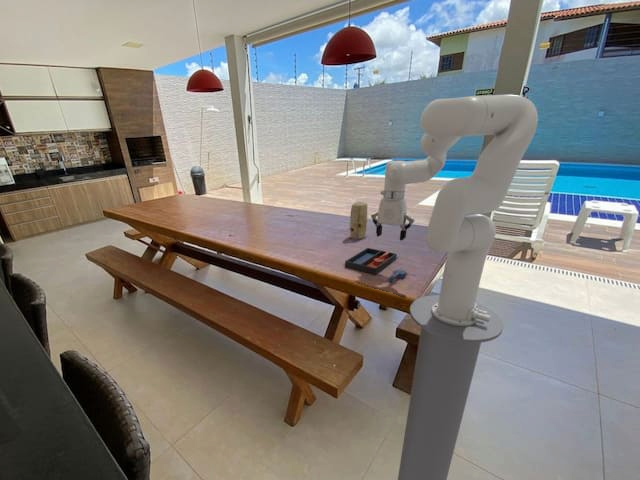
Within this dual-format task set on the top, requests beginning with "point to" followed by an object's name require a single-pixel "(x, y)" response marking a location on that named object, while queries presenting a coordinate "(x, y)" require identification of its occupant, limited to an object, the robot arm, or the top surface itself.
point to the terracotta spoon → (381, 259)
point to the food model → (358, 220)
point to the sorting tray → (369, 261)
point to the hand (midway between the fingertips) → (390, 237)
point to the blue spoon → (397, 275)
